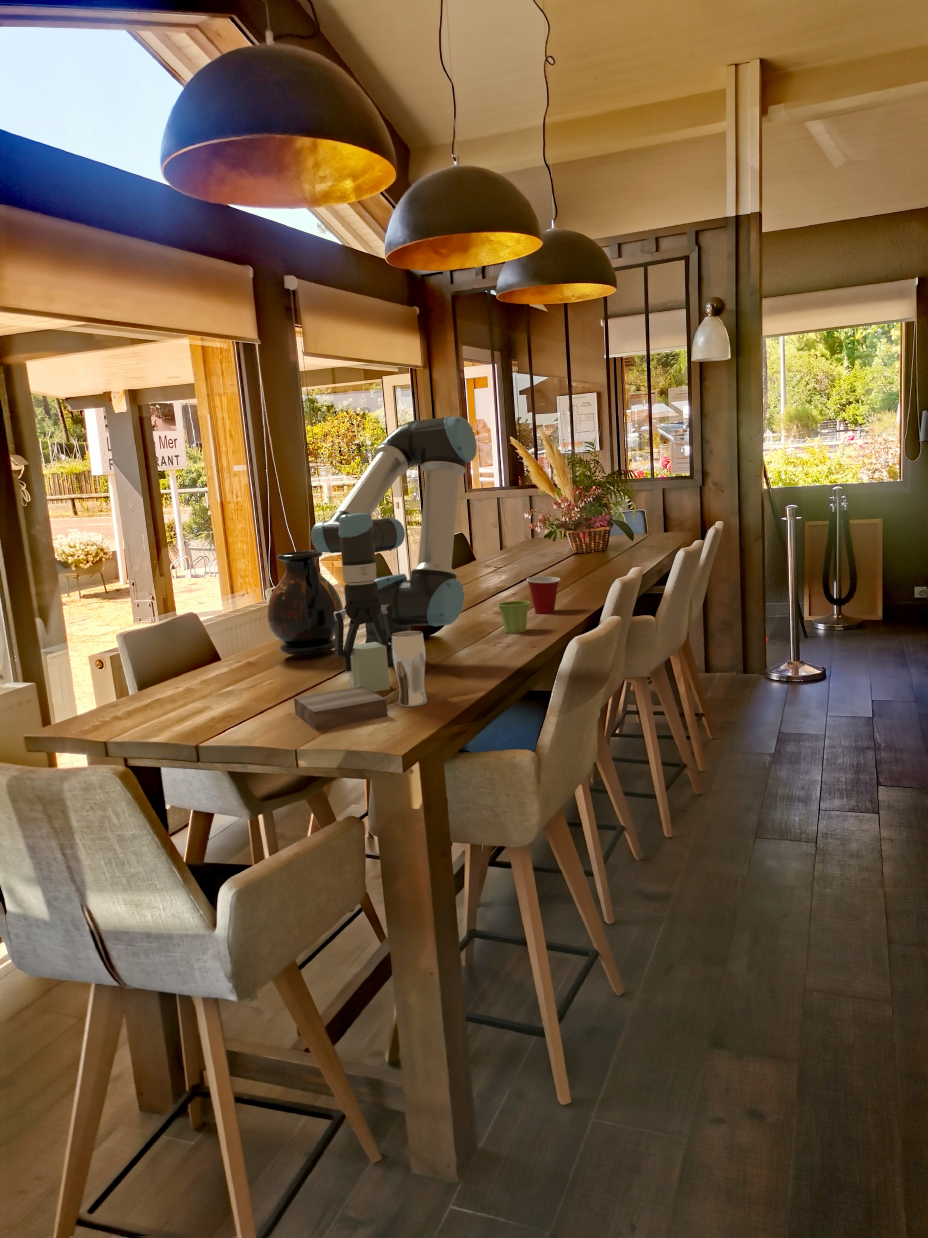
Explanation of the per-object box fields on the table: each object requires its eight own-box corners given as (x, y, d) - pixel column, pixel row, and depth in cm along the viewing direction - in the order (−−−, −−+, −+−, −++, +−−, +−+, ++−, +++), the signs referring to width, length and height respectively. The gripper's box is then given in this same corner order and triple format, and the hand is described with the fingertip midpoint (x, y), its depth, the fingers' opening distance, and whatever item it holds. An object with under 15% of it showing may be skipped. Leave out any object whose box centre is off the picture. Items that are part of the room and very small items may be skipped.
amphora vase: (360, 648, 264) (351, 549, 260) (290, 661, 252) (279, 558, 248) (326, 639, 282) (317, 547, 277) (259, 651, 270) (248, 555, 266)
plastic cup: (550, 618, 291) (548, 580, 289) (522, 617, 298) (519, 579, 296) (568, 612, 300) (566, 575, 298) (540, 611, 306) (538, 575, 304)
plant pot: (501, 630, 277) (499, 601, 276) (532, 628, 276) (531, 599, 274) (497, 635, 268) (495, 606, 266) (530, 634, 266) (528, 604, 265)
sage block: (350, 688, 215) (346, 646, 213) (379, 683, 218) (375, 641, 216) (360, 694, 208) (356, 650, 207) (389, 689, 211) (386, 645, 210)
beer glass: (398, 700, 200) (392, 631, 198) (430, 698, 200) (424, 629, 198) (394, 708, 193) (388, 637, 191) (428, 706, 193) (422, 635, 191)
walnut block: (295, 716, 195) (293, 697, 195) (363, 704, 201) (361, 686, 201) (315, 731, 182) (314, 712, 181) (387, 718, 188) (386, 699, 187)
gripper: (322, 589, 202) (332, 692, 205) (407, 578, 210) (416, 678, 214) (312, 586, 208) (322, 686, 212) (395, 576, 217) (403, 672, 220)
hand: (369, 682), depth 213 cm, fingers closed on sage block, 7 cm apart
